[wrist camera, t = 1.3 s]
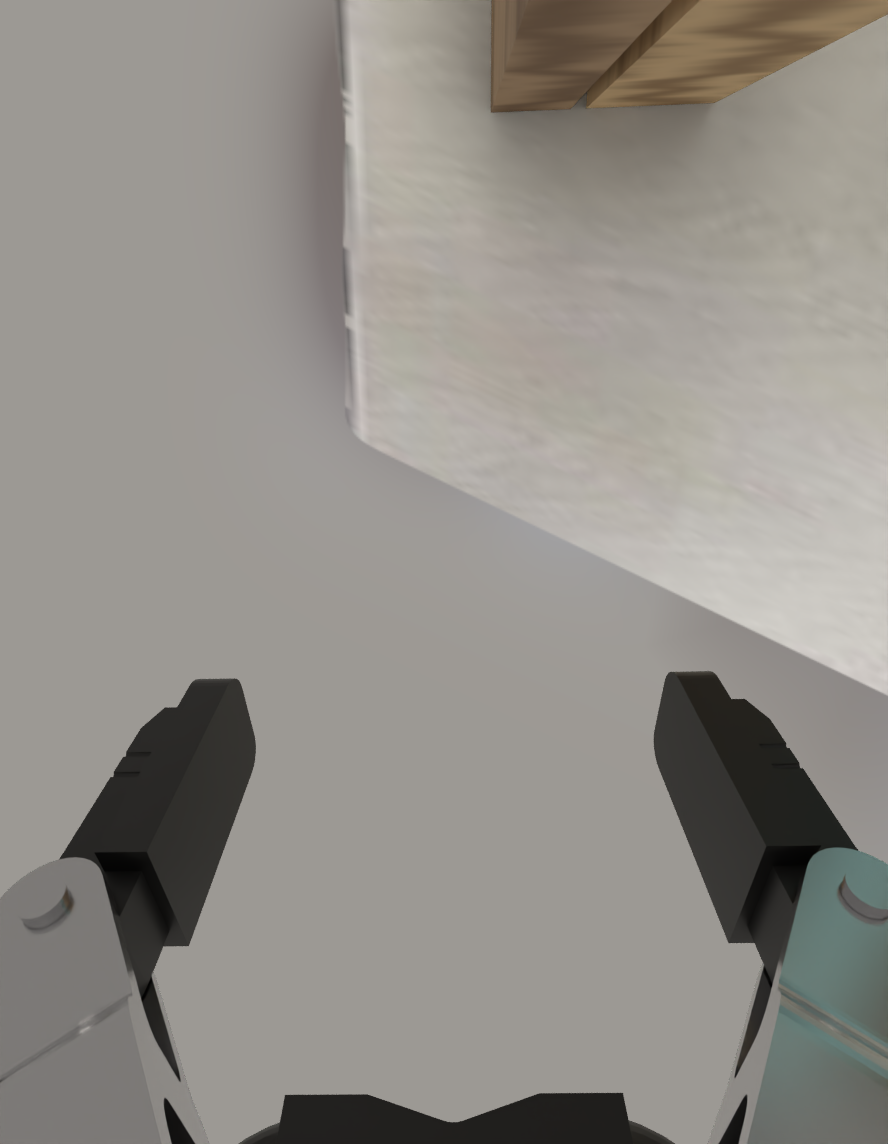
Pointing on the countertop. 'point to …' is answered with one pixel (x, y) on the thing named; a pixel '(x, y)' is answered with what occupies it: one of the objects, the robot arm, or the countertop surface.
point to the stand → (723, 47)
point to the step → (559, 48)
